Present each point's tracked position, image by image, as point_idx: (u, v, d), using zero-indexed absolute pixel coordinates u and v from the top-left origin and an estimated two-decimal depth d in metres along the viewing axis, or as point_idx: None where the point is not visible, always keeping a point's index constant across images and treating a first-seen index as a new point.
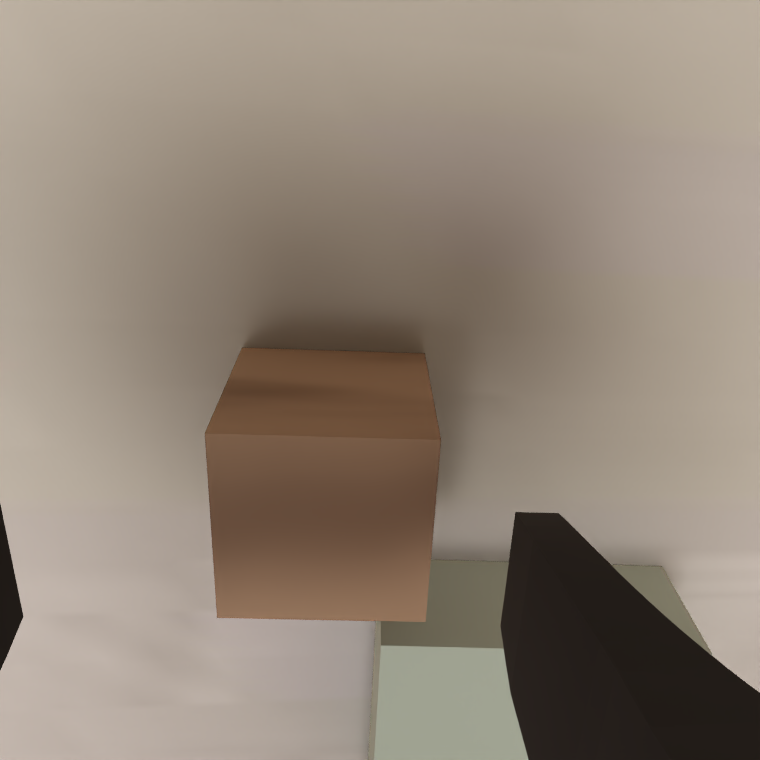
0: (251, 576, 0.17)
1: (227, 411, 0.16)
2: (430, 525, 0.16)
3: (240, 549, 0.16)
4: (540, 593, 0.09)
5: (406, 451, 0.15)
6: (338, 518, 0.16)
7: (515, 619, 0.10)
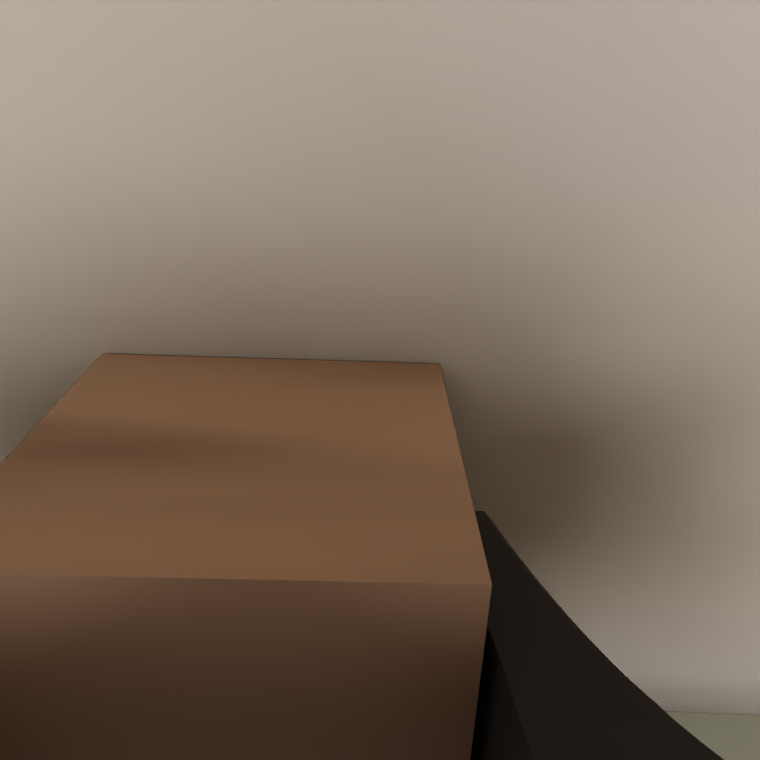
0: None
1: None
2: None
3: None
4: None
5: (407, 609, 0.06)
6: (248, 751, 0.07)
7: None
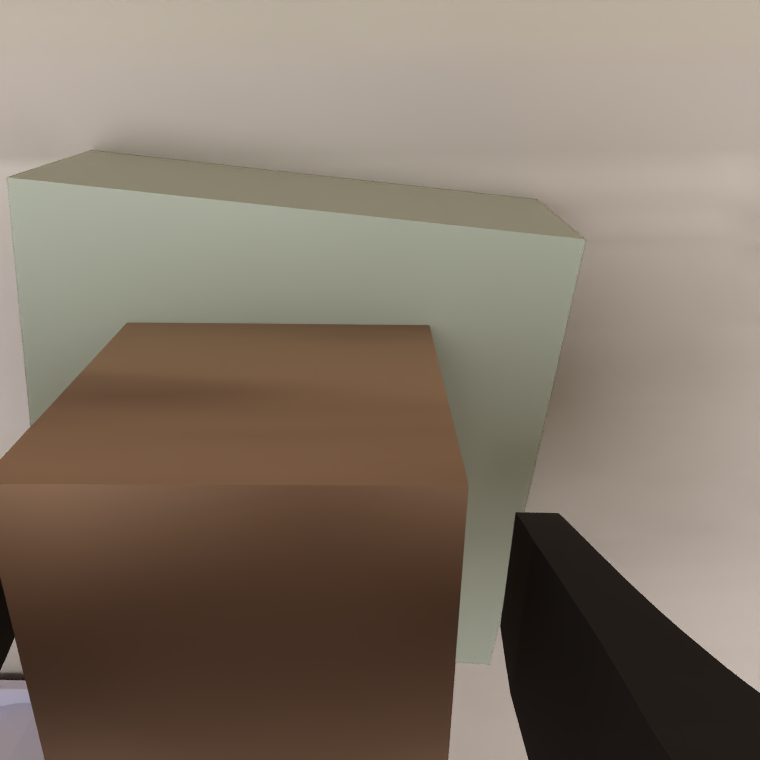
0: (112, 746, 0.09)
1: (48, 435, 0.08)
2: (450, 648, 0.08)
3: (84, 700, 0.09)
4: (540, 593, 0.09)
5: (399, 509, 0.08)
6: (267, 640, 0.08)
7: (515, 619, 0.10)
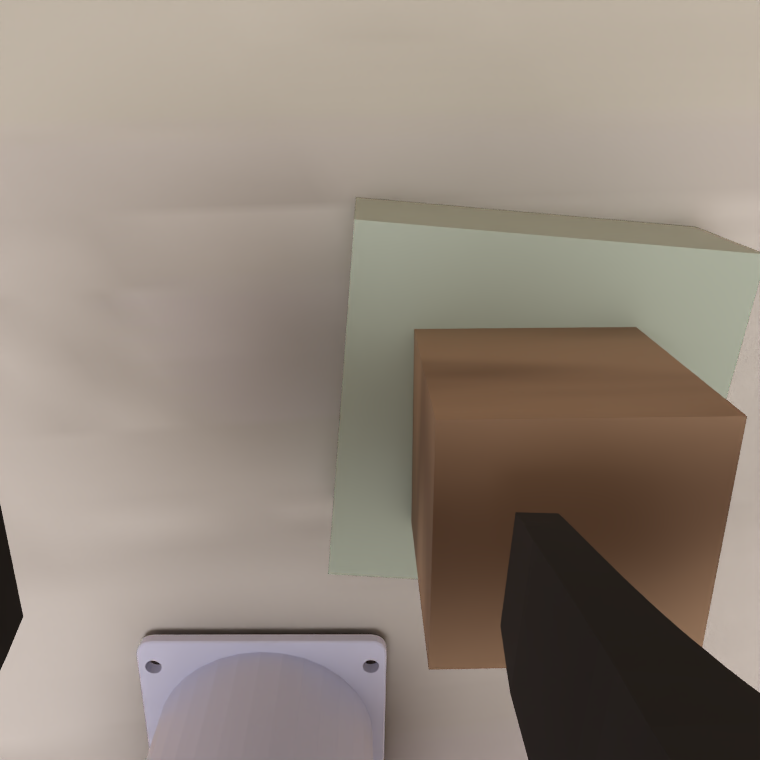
0: (478, 612, 0.13)
1: (446, 395, 0.12)
2: (719, 533, 0.12)
3: (467, 576, 0.13)
4: (540, 593, 0.09)
5: (699, 433, 0.12)
6: (599, 529, 0.12)
7: (515, 619, 0.10)
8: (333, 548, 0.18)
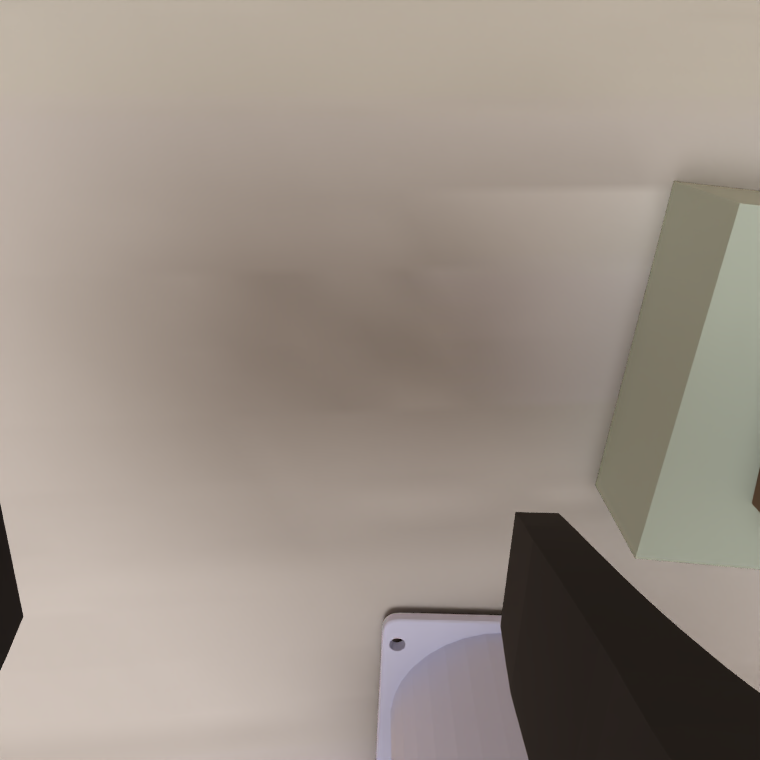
0: None
1: None
2: None
3: None
4: (540, 593, 0.09)
5: None
6: None
7: (515, 619, 0.10)
8: (646, 533, 0.18)
